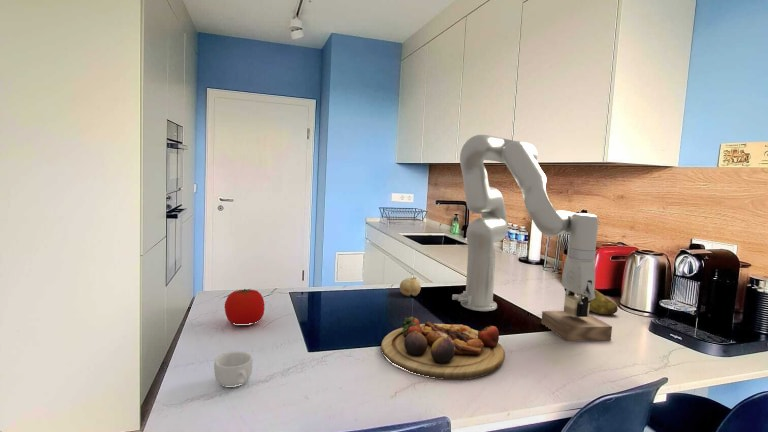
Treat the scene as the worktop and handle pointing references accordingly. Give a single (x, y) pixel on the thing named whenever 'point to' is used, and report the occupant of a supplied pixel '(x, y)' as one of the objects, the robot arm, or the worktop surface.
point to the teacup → (233, 368)
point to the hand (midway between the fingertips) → (575, 312)
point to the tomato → (244, 306)
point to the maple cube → (572, 305)
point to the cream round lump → (410, 287)
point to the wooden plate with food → (444, 349)
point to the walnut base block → (576, 326)
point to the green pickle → (602, 304)
